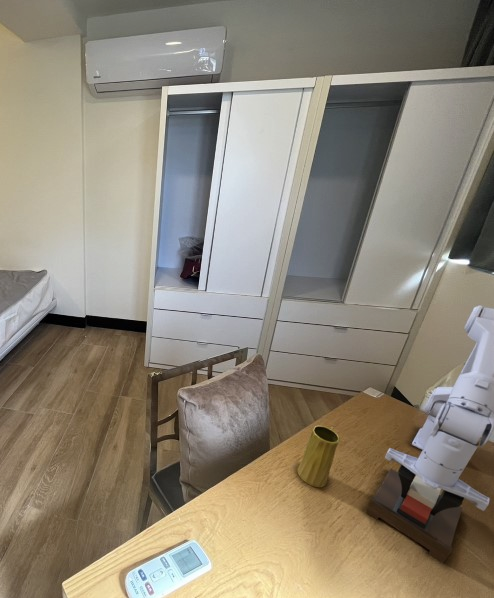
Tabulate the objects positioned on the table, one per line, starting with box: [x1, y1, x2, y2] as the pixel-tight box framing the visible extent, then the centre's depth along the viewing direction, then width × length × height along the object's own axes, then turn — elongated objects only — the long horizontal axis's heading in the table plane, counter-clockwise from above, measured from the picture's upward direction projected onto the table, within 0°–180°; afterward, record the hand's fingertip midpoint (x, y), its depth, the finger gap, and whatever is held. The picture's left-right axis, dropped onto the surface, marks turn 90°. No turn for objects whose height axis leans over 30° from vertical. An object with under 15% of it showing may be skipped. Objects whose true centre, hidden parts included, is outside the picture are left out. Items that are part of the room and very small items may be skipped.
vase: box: [296, 425, 341, 488], centre depth 74 cm, size 6×6×14 cm
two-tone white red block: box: [396, 475, 442, 529], centre depth 66 cm, size 10×4×4 cm, turn 125°
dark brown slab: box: [365, 468, 463, 564], centre depth 67 cm, size 16×12×4 cm
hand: (417, 503), depth 67 cm, fingers closed on two-tone white red block, 4 cm apart
